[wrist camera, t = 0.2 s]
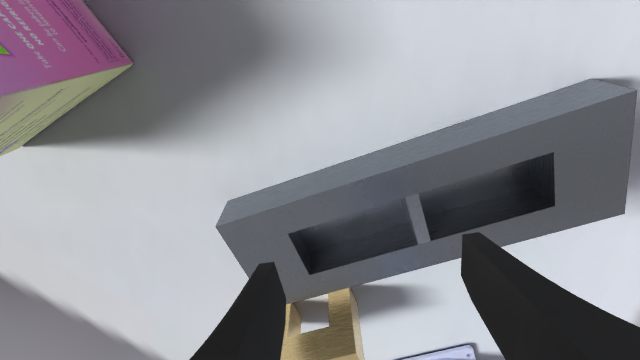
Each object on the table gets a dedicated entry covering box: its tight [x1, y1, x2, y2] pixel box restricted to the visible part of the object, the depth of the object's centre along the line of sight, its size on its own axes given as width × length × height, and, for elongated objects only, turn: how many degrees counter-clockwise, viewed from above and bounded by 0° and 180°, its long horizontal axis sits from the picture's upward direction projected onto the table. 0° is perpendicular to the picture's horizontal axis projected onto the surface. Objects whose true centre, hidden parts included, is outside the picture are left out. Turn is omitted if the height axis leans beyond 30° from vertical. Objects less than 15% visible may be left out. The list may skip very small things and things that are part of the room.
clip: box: [280, 288, 365, 360], centre depth 25 cm, size 2×7×6 cm, turn 110°
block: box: [216, 79, 637, 305], centre depth 21 cm, size 8×24×3 cm, turn 110°
